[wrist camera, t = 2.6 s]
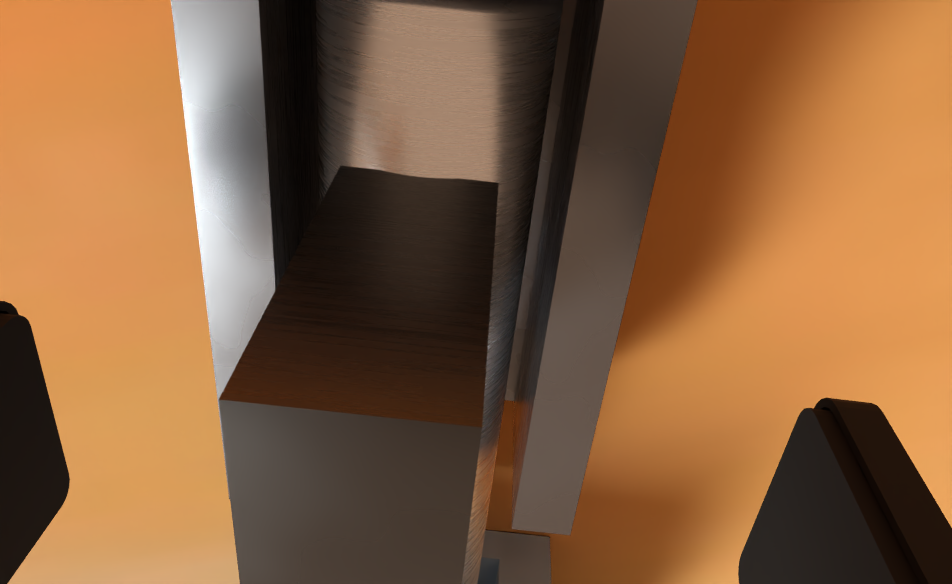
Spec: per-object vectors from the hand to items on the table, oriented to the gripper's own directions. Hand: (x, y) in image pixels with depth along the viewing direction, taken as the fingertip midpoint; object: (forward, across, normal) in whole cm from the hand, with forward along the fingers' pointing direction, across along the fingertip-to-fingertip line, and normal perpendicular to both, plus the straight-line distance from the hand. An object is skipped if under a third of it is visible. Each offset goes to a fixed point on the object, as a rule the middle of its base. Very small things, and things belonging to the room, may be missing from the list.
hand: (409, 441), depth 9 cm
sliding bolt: (+7, 0, +3) cm, 8 cm away
